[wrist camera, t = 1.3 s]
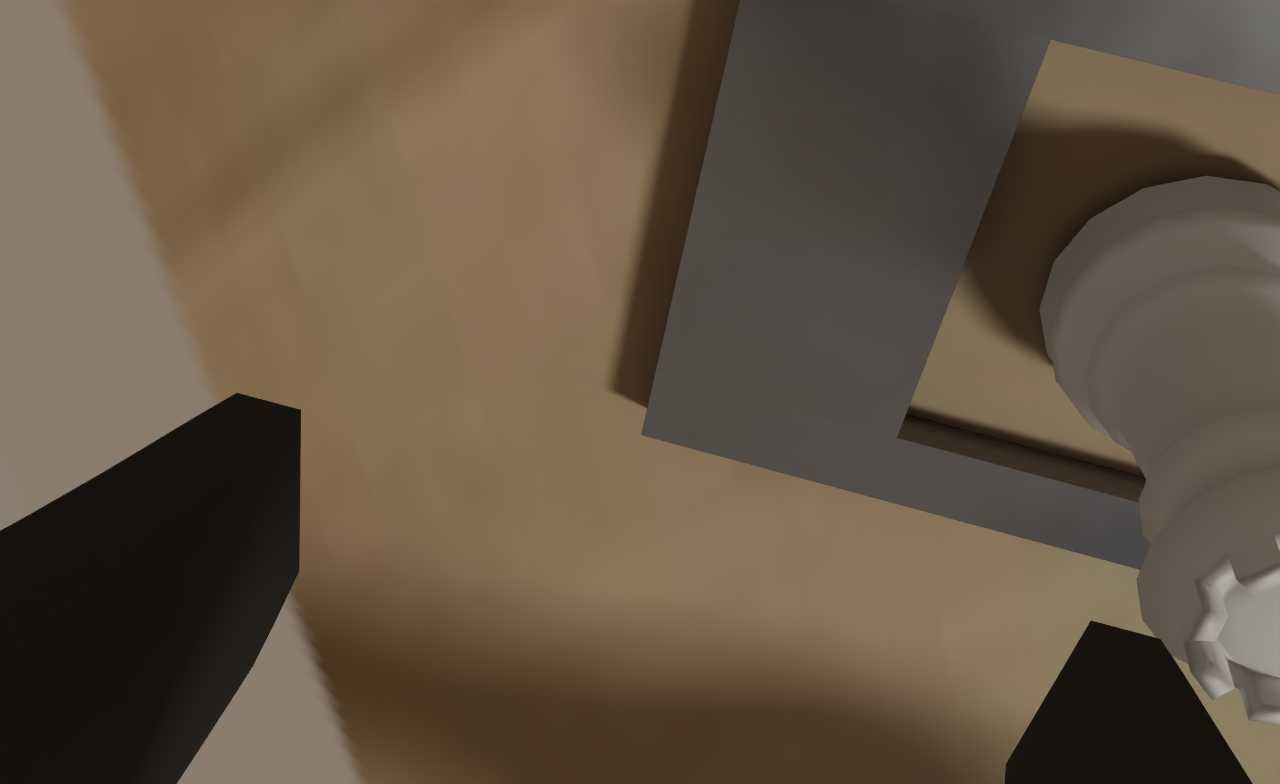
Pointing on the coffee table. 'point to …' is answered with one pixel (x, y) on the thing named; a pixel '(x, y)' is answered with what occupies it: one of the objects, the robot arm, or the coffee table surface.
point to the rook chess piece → (1189, 409)
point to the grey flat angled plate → (891, 243)
